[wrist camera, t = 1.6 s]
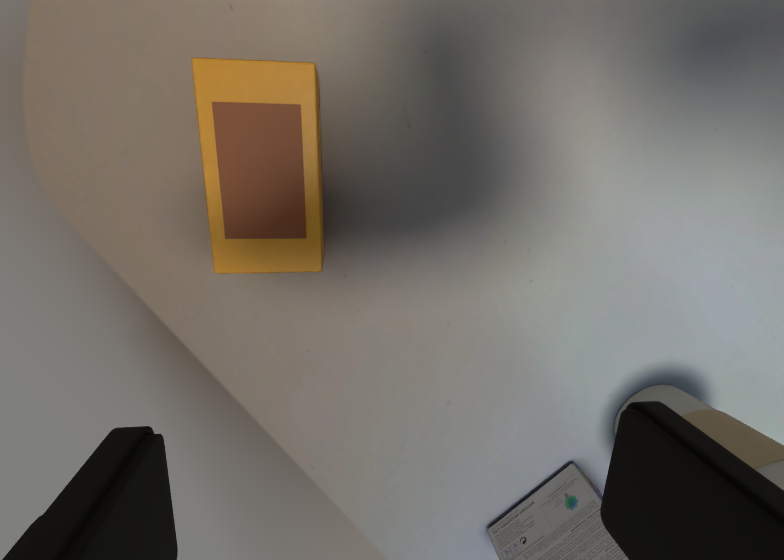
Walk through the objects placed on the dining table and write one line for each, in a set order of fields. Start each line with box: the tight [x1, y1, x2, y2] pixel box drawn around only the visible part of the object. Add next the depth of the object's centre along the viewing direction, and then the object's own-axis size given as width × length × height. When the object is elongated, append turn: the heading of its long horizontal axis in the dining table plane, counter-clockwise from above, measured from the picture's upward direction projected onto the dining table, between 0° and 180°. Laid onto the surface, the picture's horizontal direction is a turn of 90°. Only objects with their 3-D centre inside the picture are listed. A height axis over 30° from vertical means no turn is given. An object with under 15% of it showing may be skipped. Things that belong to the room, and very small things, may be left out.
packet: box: [192, 58, 324, 273], centre depth 24 cm, size 11×6×4 cm, turn 179°
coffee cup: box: [614, 385, 784, 490], centre depth 28 cm, size 9×9×15 cm
